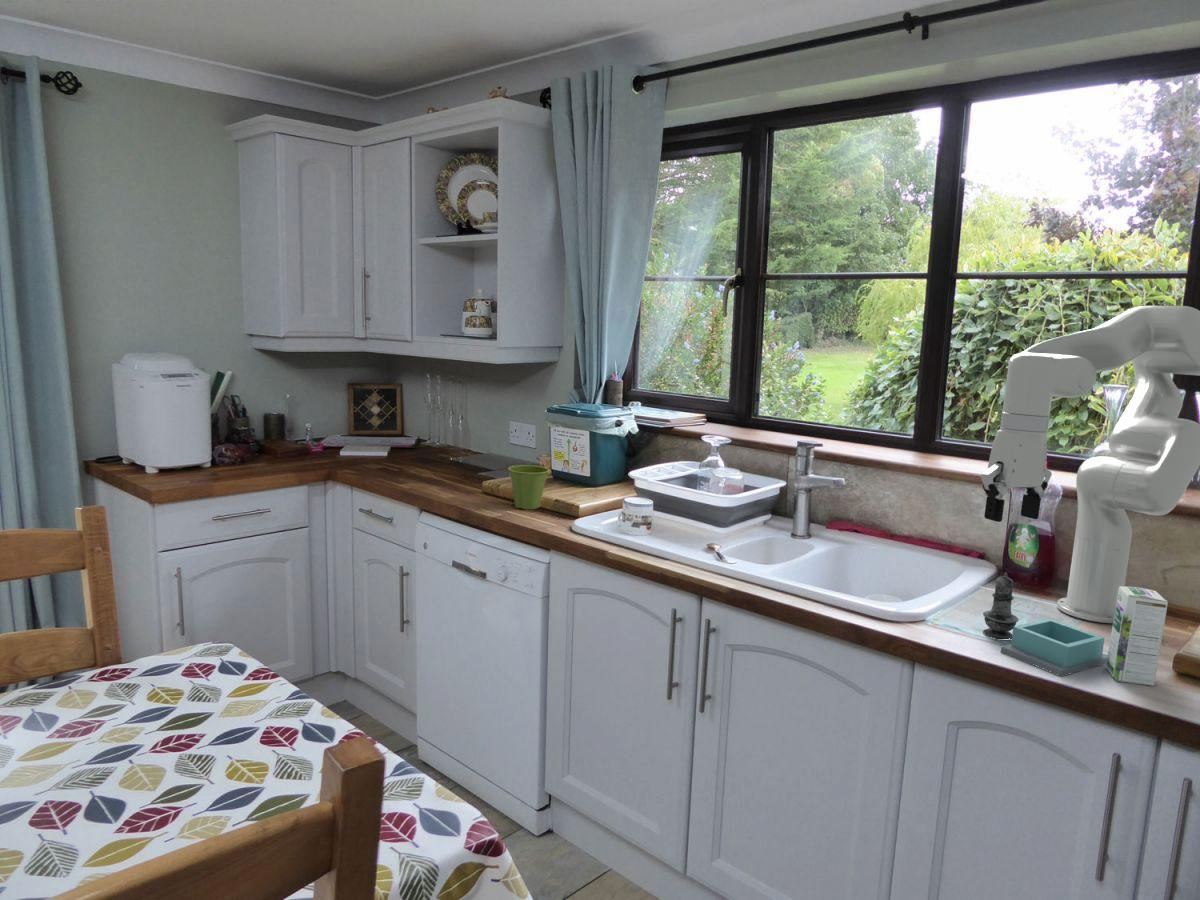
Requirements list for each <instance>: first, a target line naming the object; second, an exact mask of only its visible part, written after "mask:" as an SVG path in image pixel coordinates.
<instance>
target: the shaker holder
mask: <svg viewBox="0 0 1200 900" xmlns="http://www.w3.org/2000/svg"><path fill="white" fill-rule="evenodd" d="M1011 634H1012V640H1011V643H1010V644H1005V645H1002V646H1000V653H1003V654H1005V655H1007V656H1010V657H1013V658H1014V657H1015V659H1017V658H1018V659H1017V660H1019V659H1021V660H1020V661H1022V660H1023V661H1022V662H1024V661H1026V662H1025V663H1027V662H1029V663H1031V664H1030V665H1032V664H1034V665H1037V666H1039V667H1041V668H1044V669H1046V670H1048V671H1047V672H1049V671H1051V672H1053V673H1055V674H1054V675H1056V674H1058V675H1059V676H1058V675H1057V676H1058V677H1063V676H1062V675H1064V676H1067V675H1066V674H1068V675H1070V674H1069V673H1071V674H1075V673H1078V672H1080V671H1081V670H1082V671H1085V670H1088V669H1092V668H1096V667H1098V666H1103V665H1107V659H1108V654H1106V653H1103V652H1104V647H1105V639H1106V637H1104V636H1100V635H1097V634H1094V633H1092V632H1089V631H1086V630H1083V629H1081V628H1078V627H1074V626H1071V625H1069V624H1067V623H1064V622H1061V621H1057V620H1055V619H1052V618H1046V619H1045V618H1044V619H1041V620H1036V621H1031V622H1026V623H1023V624H1019V625H1015V626H1013V629H1012V633H1011ZM1029 663H1028V664H1029ZM1034 665H1033V666H1034ZM1039 667H1038V668H1039ZM1041 668H1040V669H1041ZM1044 669H1043V670H1044ZM1046 670H1045V671H1046ZM1077 671H1078V672H1077ZM1051 672H1050V673H1051ZM1074 672H1075V673H1074ZM1053 673H1052V674H1053Z"/></svg>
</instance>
